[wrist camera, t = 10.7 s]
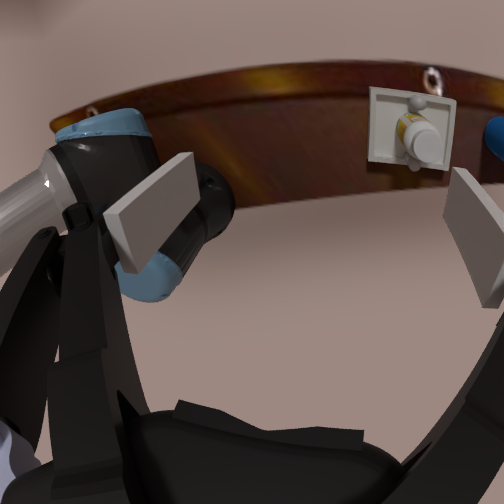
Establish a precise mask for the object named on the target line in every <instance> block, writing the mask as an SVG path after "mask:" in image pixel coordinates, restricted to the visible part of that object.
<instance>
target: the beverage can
mask: <svg viewBox="0 0 504 504" xmlns="http://www.w3.org/2000/svg"><path fill="white" fill-rule="evenodd" d="M485 142H486V145H487V147H488V148H489V150H490V151H491V152H492V153H494V154H495V155H496V156H497V157H498V158H500V159H501V160H502V161H503V162H504V117H495V118H493V119H491V120H490V121H489V122H488V124H487V126H486V129H485Z"/></svg>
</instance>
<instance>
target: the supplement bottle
mask: <svg viewBox="0 0 504 504" xmlns="http://www.w3.org/2000/svg"><path fill="white" fill-rule="evenodd" d="M396 133H397V136H398V138H399V140H400V141H401V143H402V144H403V146H404V147H405V149H406V150H407V152H408V153H409V154H410V155H411V156H412V157H413V158H415V159H417V160H421V161H423V162H425V163H433V162H435V161H437V160H438V159H439V158H440V157H441V156H442V153H443V149H444V147H443V142H442V137H441V134H440V132H439V130H438V129H437V127H436V126H435V125H434V124H432V123H431V122H430V121H429V120H428V119H426V118H425V117H424V116H422V115H421V114H419V113H417V112H407V113H404V114H403V115H401V116H400V117H399V119H398V120H397V123H396Z"/></svg>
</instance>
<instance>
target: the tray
mask: <svg viewBox="0 0 504 504" xmlns="http://www.w3.org/2000/svg"><path fill="white" fill-rule="evenodd" d="M407 112H417V113H419V114H421V115H422V116H424V117H425V118H426V119H428V120H429V121H430V122H431V123H432V124H434V125H435V126H436V127H437V129H438V130H439V132H440V134H441V137H442V142H443V147H444V149H443V153H442V156H441V157H440V158H439V159H438V160H437V161H435V162H433V163H425V162H423V161H421V160H417V159H415V158H413V157H412V156H411V155H410V154H409V153H408V152H407V150H406V149H405V147H404V146H403V144H402V143H401V141H400V140H399V138H398V136H397V133H396V123H397V120H398V119H399V117H400V116H401V115H403V114H404V113H407ZM455 112H456V101H455V100H453V99H449V98H445V97H439V96H434V95H428V94H423V93H416V92H410V91H403V90H395V89H387V88H378V87H369V122H368V146H367V159H368V161H372V162H383V163H392V164H401V165H408V166H409V168H410V169H411V170H412V171H418V170H419V169H420V167H425V168H432V169H439V170H445V171H448V169H449V163H450V156H451V149H452V141H453V133H454V123H455Z"/></svg>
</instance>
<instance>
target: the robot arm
mask: <svg viewBox="0 0 504 504" xmlns="http://www.w3.org/2000/svg"><path fill="white" fill-rule="evenodd" d="M152 138H153V136H152V134H151V133H149V130H148V128H147V126H146V123H145V121H144V118H143V116H142V114H141V113H140V112H139V111H138V110H136V109H132V108H126V109H120V110H115V111H111V112H107V113H104V114H100V115H97V116H94V117H91V118H88V119H85V120H82V121H80V122H79V123H75V124H73V125H70V126H67V127H65V128H63V129H61V130H60V131H58V132H57V133H56V139H55V141H56V143H57V145H55V146H53V147H51V148H49V149H48V150H46V151H45V153H44V157H43V159H42V162H41V164H40V166H39V167H38V169H36V170H35V171H33V172H31V173H30V174H28V175H26V176H25V177H24V178H22V179H20V180H19V181H17V182H15V183H14V184H12V185H11V186H9V187H8V188H7V189H5V190H4V191H2V192H1V193H0V277H1V276H3V275H4V274H5V273H6V272H8V271H9V270H10V269H12V268H13V267H14V268H13V269H12V271H11V273H10V275H9V276H8V278H7V280H6V282H5V283H4V285H3V287H2V289H1V291H0V504H478V502H479V501H480V499H481V498H482V496H483V495H484V493H485V492H486V490H487V489H488V487H489V485H490V484H491V482H492V481H493V479H494V477H495V476H496V474H497V472H498V471H499V469H500V467H501V465H502V464H503V462H504V312H503V314H502V316H501V318H500V319H499V321H498V323H497V325H496V326H497V327H496V329H495V331H494V333H493V335H492V337H491V339H490V341H489V343H488V344H487V346H486V348H485V350H484V352H483V353H482V355H481V357H480V359H479V360H478V362H477V364H476V366H475V367H474V369H473V371H472V372H471V374H470V376H469V377H468V379H467V380H466V382H465V383H464V385H463V387H462V388H461V390H460V391H459V392H458V394H457V396H456V397H455V398H454V400H453V401H452V403H451V404H450V405H449V407H448V408H447V410H446V411H445V412H444V414H443V415H442V416H441V418H440V419H439V420H438V422H437V423H436V424H435V426H434V427H433V428H432V429H431V431H430V432H429V433H428V434H427V436H426V437H425V438H424V439H423V440H422V442H421V443H420V444H419V445H418V446H417V447H416V449H415V450H414V451H413V452H412V453H411V454H410V455H409V456H408V457H407V458H406V459H405V460H404V461H403V462H402V463H401V464H400V463H399V462H398V461H397V460H396V459H395V458H394V457H393V456H391V455H390V454H389V453H387V452H385V451H384V450H382V449H380V448H378V447H376V446H374V445H371V444H369V443H366V442H363V437H364V430H352V429H339V428H327V427H308V428H298V429H286V430H273V431H267V430H262V429H259V428H257V427H255V426H253V425H250V424H248V423H246V422H244V421H242V420H240V419H238V418H236V417H233V416H231V415H229V414H227V413H225V412H223V411H221V410H218V409H214V408H209V407H206V406H201V405H198V404H194V403H190V402H186V401H183V400H178V403H177V405H176V407H175V409H174V410H166V411H157V412H152V413H151V412H150V410H149V408H148V406H147V403H146V400H145V397H144V393H143V390H142V386H141V383H140V379H139V375H138V371H137V368H136V364H135V360H134V356H133V352H132V347H131V343H130V339H129V334H128V329H127V324H126V320H125V315H124V309H123V305H122V299H121V293H122V294H124V295H126V296H127V297H129V298H132V299H134V300H137V301H142V302H148V303H149V302H159V301H162V300H164V299H166V298H167V297H168V296H169V295H170V294H171V293H172V292H173V290H174V289H175V288H176V286H178V285H179V284H180V282H181V281H182V279H183V277H184V275H185V274H186V272H187V270H188V269H189V267H190V265H191V264H192V262H193V261H194V259H195V257H196V256H197V254H198V252H199V251H200V249H201V248H202V246H203V244H205V243H206V242H208V241H209V240H211V239H213V238H215V237H217V236H218V235H220V234H221V233H222V232H223V231H224V230H225V229H226V227H227V226H228V224H229V223H230V221H231V219H232V217H233V214H234V210H235V201H234V195H233V192H232V190H231V188H230V186H229V184H228V182H227V181H226V180H225V178H224V177H223V176H222V175H221V174H220V173H219V172H217V171H216V170H215V169H213V168H212V167H210V166H208V165H206V164H203V163H199V162H194V157H193V152H188V153H179V154H178V155H176V156H175V157H174V158H172V159H171V160H169V161H168V162H167V163H165V164H164V165H163V166H162V165H161V162H160V160H159V157H158V154H157V151H156V148H155V146H154V143H153V140H152ZM443 218H444V219H445V222H446V224H447V226H448V228H449V230H450V232H451V234H452V236H453V238H454V240H455V242H456V244H457V246H458V248H459V251H460V253H461V255H462V257H463V260H464V262H465V264H466V267H467V269H468V271H469V274H470V275H471V279H472V281H473V284H474V286H475V289H476V291H477V294H478V296H479V299H480V302H481V305H482V308H496V309H498V308H499V306H500V304H501V302H502V300H503V298H504V213H503V212H502V211H501V209H500V208H499V207H498V206H497V204H496V203H495V202H494V201H493V200H492V198H491V197H490V196H489V195H488V194H487V192H486V191H485V190H484V189H483V188H482V187H481V185H480V184H479V183H478V182H477V181H476V180H475V179H474V177H473V176H472V175H471V174H470V173H469V172H468V171H467V170H466V169H463V168H457V167H453V168H452V174H451V179H450V185H449V190H448V195H447V200H446V204H445V209H444V213H443ZM66 229H67V230H68V234H67V235H62V236H60V235H59V234H60V233H62V232H63V231H65V230H66ZM48 277H49V278H48ZM49 279H50V280H49ZM58 345H59V361H58V362H55V363H54V361H55V357H56V353H57V349H58ZM46 400H47V401H48V417H49V430H50V440H51V447H52V456H53V460H52V461H50V462H48V463H46V464H43V465H41V463H40V461H39V460H38V459H37V458H35V457H34V453H35V451H36V448H37V445H38V441H39V438H40V434H41V429H42V424H43V419H44V412H45V406H46Z"/></svg>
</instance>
